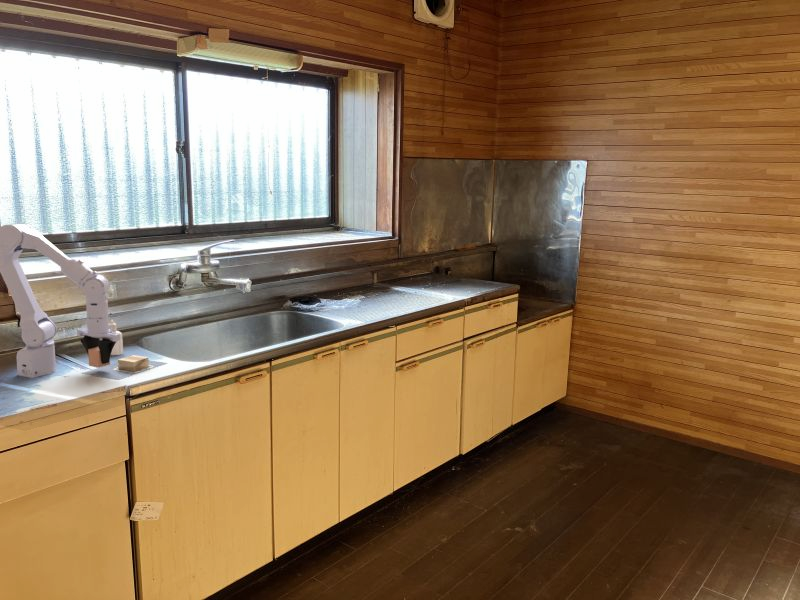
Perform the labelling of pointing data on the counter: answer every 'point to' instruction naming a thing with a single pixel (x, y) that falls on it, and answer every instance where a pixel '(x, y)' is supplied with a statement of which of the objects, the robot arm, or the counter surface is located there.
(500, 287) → the counter surface
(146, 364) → the base block
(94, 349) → the top block
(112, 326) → the eye dropper bottle
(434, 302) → the counter surface
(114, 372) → the board
